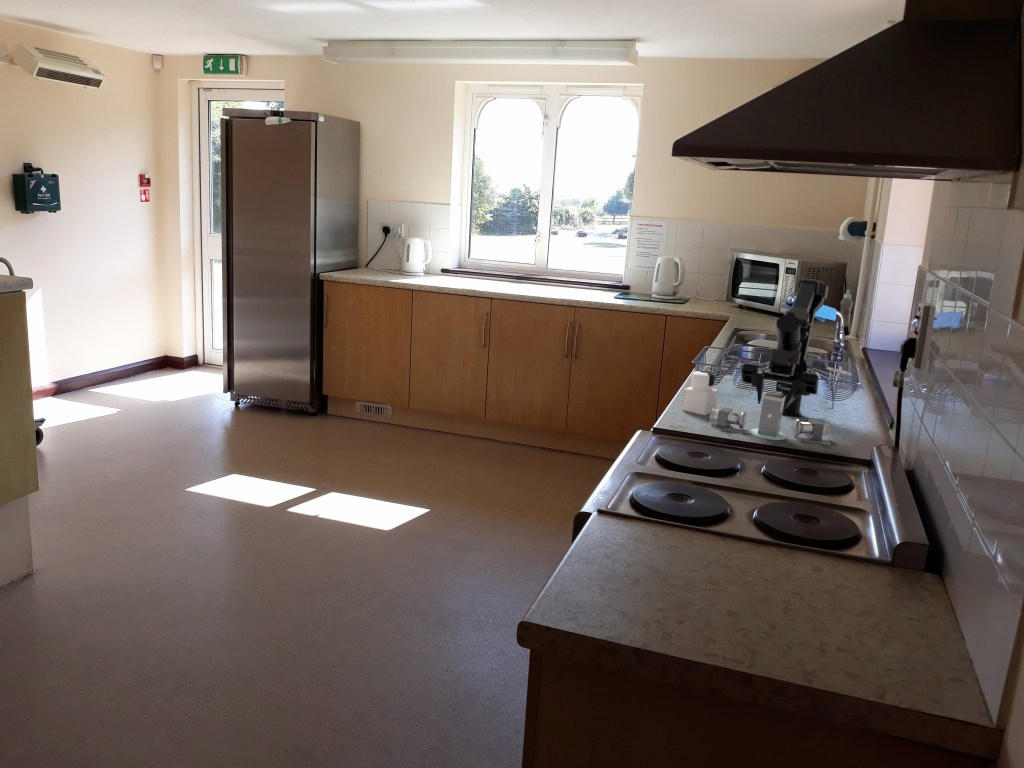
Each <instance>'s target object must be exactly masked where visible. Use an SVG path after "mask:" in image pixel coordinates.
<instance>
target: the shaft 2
mask: <svg viewBox="0 0 1024 768" xmlns="http://www.w3.org/2000/svg"><path fill="white" fill-rule="evenodd" d="M791 427H792V428H791V429H792V432H793V435H794V436H799V434H806V436H807V437H808V438H809V439H811V440H812V441H822V435H825V436H828V437H830V435H831V432H832V427H831V424H830V423H823V422H821V421H820V420H819V419H817V418H808V419H807V422H806V421H801V420H800V418H795V419H793V421H792V425H791Z"/></svg>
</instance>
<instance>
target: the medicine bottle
mask: <svg viewBox="0 0 1024 768" xmlns="http://www.w3.org/2000/svg"><path fill="white" fill-rule="evenodd" d="M715 377H716V376H715V374H714V373H713V372H710V371H708V370H695V371H693V372H692V376H691V383H690V386H688V387H685V388H684V389H683V396H682V397H683V398H682V404H681V405H682V406H681V410H682V411H686V412H689V413H693V414H698V415H702V416H706V415H707V416H708V415H710V412H711V410H712V409H717V406H718V399H719V390H718V389H715V388H714V383H715Z"/></svg>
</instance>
